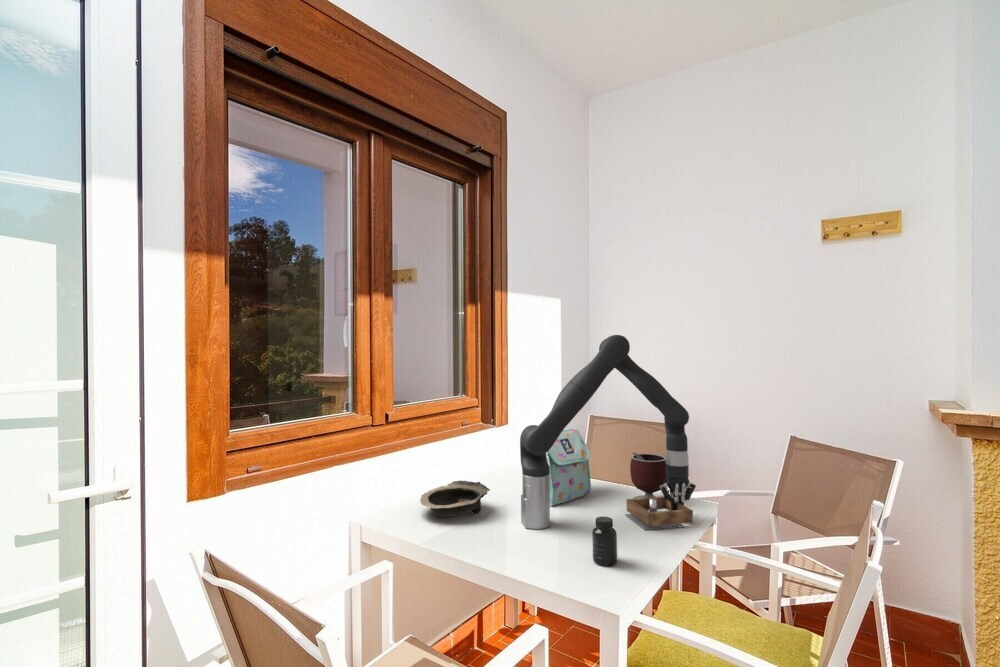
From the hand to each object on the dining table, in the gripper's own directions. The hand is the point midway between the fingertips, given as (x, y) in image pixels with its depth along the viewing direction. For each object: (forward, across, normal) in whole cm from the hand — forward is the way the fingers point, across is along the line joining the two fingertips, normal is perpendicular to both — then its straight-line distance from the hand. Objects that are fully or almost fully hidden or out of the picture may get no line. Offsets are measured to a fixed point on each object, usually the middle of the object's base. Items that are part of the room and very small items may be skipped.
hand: (677, 512), depth 178 cm
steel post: (+2, -9, 0) cm, 10 cm away
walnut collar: (+1, -7, 0) cm, 7 cm away
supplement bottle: (+2, -38, -26) cm, 46 cm away
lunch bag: (+3, -32, +32) cm, 46 cm away
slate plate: (+2, -9, 0) cm, 10 cm away
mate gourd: (+3, -1, +19) cm, 19 cm away
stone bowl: (+3, -75, +24) cm, 79 cm away
